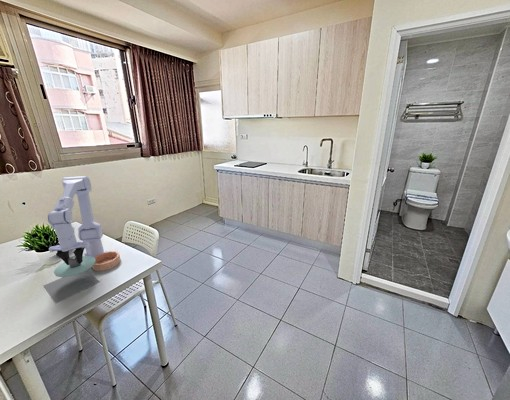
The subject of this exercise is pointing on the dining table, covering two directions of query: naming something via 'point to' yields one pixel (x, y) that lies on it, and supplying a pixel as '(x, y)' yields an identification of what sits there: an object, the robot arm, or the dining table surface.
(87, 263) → the lid
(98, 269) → the bowl
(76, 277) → the mat
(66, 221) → the robot arm
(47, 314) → the dining table surface
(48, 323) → the dining table surface
